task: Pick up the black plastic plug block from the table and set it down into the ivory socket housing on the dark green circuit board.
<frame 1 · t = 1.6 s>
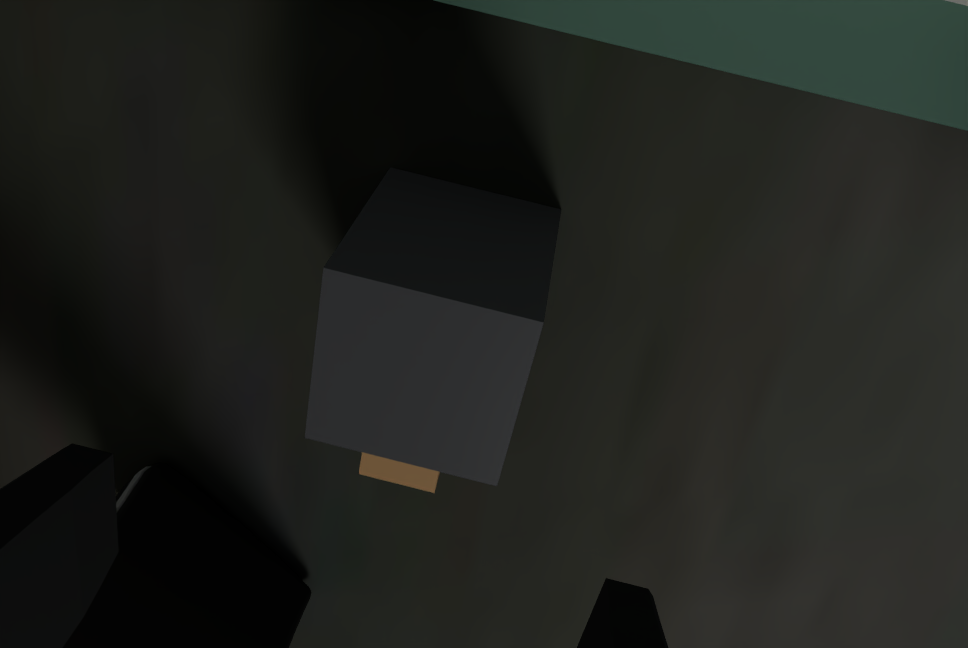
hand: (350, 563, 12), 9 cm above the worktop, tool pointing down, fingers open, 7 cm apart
battery charger: (210, 538, 27), on the worktop
plug: (459, 264, 20), on the worktop
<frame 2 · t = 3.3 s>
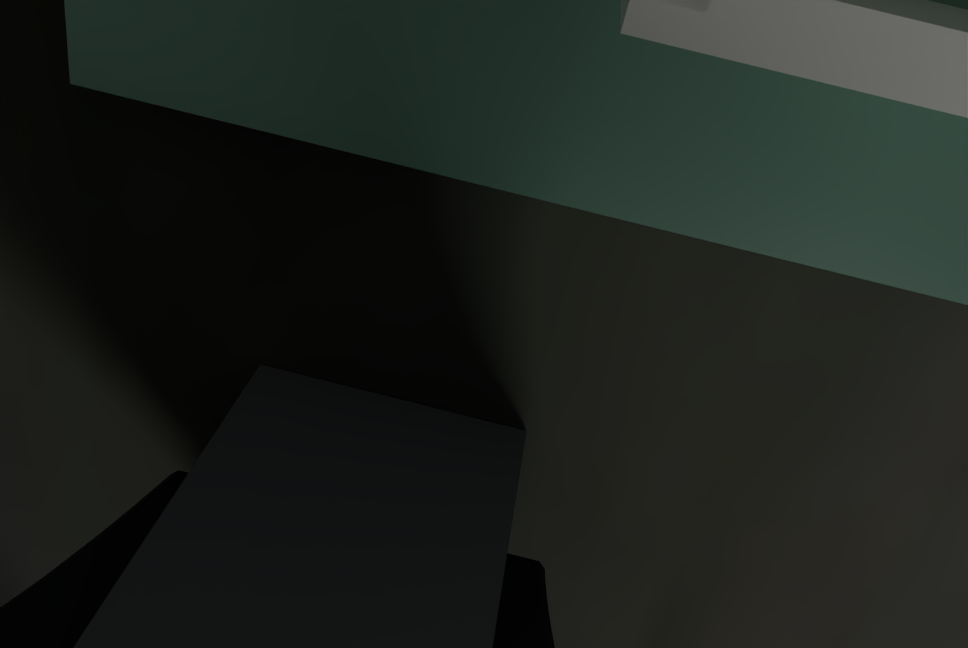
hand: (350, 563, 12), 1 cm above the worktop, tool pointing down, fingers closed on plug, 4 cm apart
plug: (375, 495, 13), on the worktop, touching gripper
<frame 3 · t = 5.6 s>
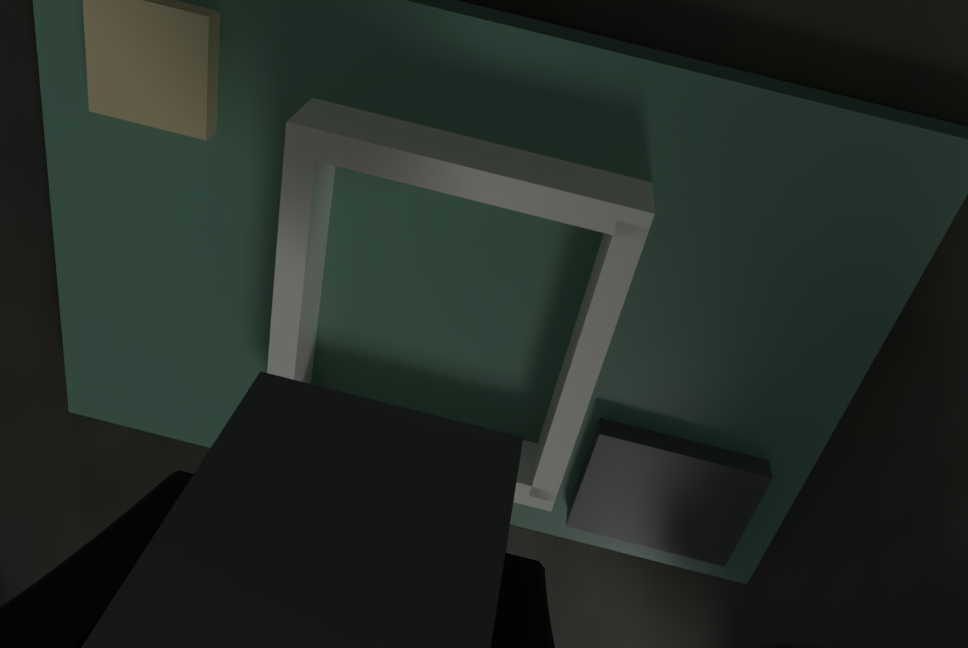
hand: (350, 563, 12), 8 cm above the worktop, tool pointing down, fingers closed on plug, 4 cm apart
board: (455, 281, 19), on the worktop
plug: (374, 500, 13), point 7 cm above the worktop, touching gripper
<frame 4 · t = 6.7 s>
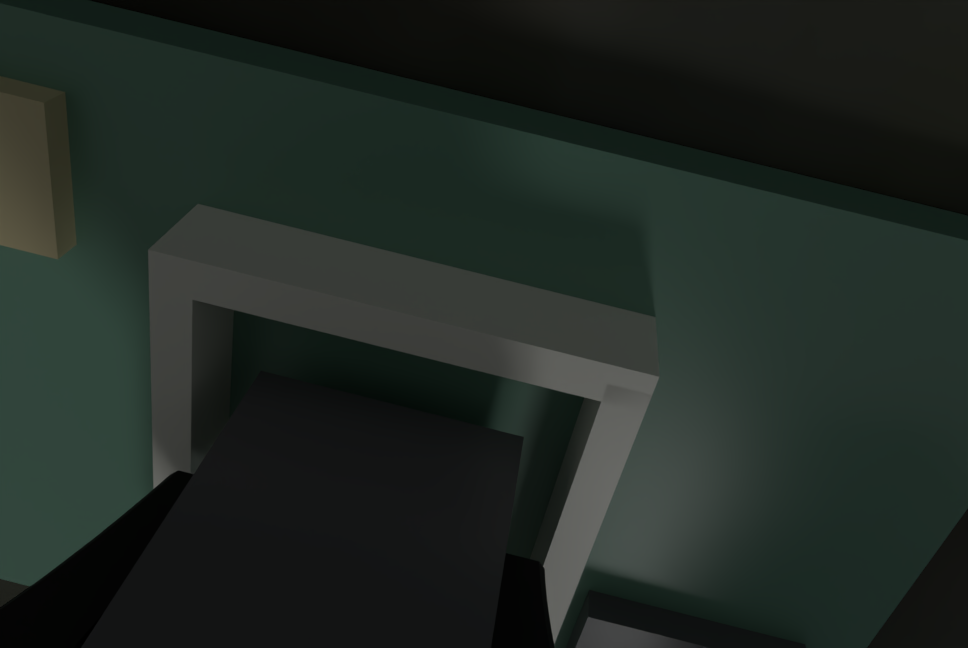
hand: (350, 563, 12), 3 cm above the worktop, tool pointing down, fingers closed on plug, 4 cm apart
board: (403, 418, 15), on the worktop
plug: (374, 499, 13), point 2 cm above the worktop, touching gripper
when the fingers open (3 cm above the worktop, at t = 7.7 s): plug stays where it is, resting on board.
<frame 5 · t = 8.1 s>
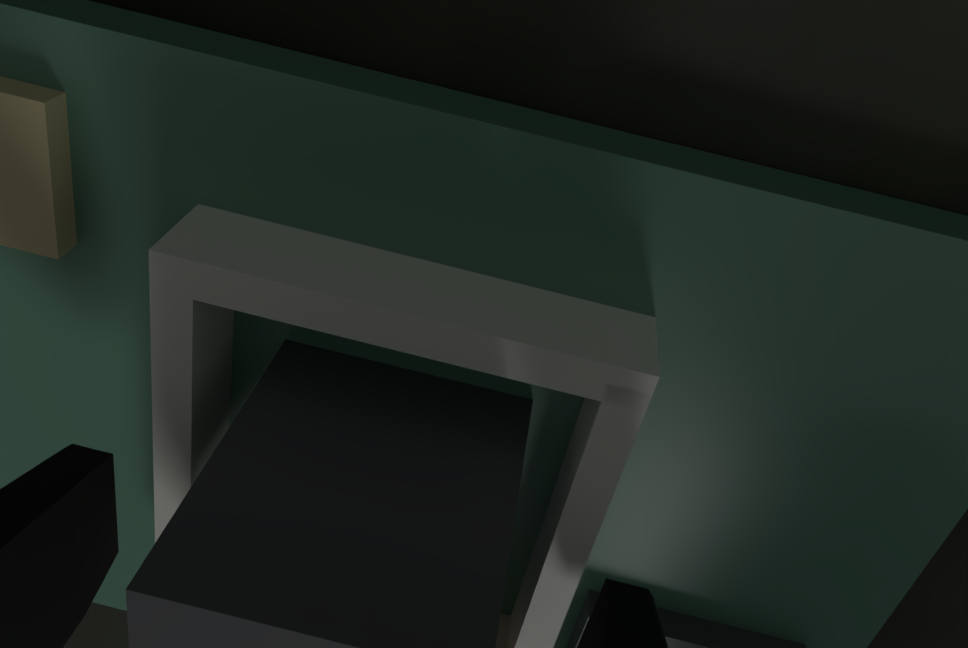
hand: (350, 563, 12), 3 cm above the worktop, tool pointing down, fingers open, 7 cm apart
board: (403, 418, 15), on the worktop
plug: (392, 462, 14), point 1 cm above the worktop, touching board
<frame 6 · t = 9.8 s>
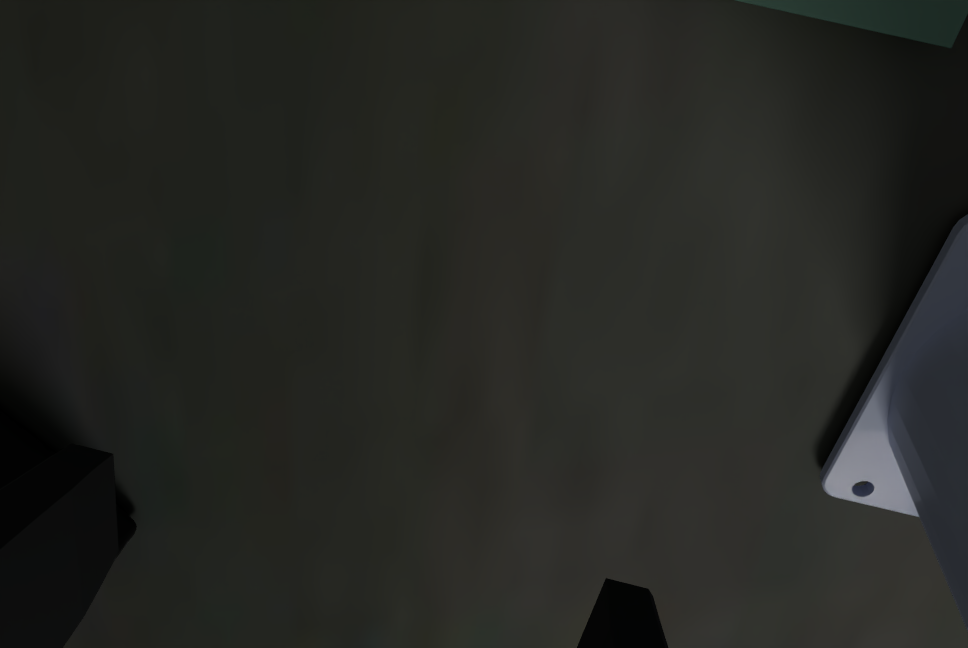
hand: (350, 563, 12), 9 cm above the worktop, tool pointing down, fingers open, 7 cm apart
battery charger: (35, 473, 26), on the worktop
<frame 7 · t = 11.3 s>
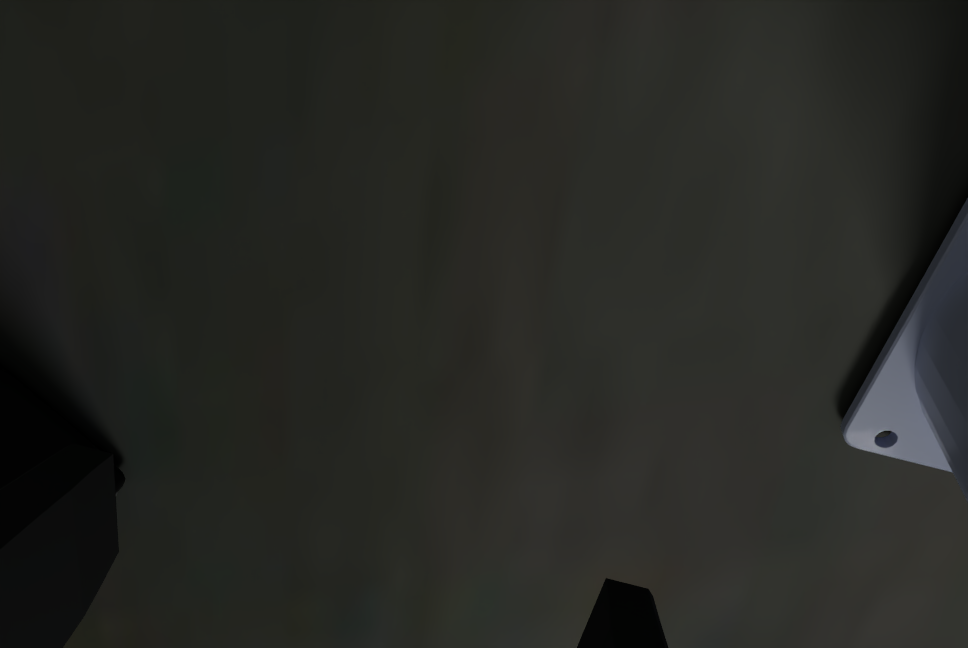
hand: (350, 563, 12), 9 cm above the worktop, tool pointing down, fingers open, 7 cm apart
battery charger: (20, 422, 25), on the worktop
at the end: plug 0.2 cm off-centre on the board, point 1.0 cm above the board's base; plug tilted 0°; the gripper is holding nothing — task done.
